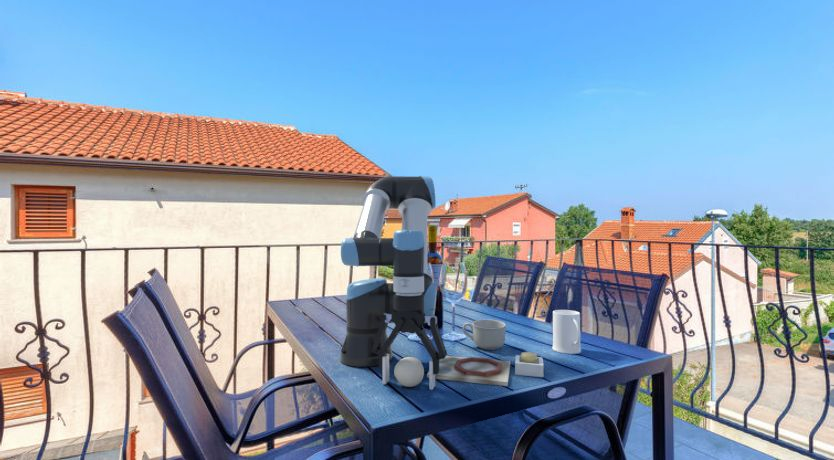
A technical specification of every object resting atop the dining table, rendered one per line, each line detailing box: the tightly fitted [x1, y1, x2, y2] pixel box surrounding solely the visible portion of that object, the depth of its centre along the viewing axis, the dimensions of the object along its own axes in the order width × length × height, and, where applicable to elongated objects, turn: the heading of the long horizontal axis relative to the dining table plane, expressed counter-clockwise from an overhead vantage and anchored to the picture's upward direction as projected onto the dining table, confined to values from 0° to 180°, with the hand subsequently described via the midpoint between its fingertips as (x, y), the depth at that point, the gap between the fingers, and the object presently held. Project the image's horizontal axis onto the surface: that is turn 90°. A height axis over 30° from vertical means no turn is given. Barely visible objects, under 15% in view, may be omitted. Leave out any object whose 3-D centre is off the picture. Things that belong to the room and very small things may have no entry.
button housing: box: [514, 354, 544, 378], centre depth 102 cm, size 7×7×3 cm
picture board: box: [426, 355, 511, 387], centre depth 102 cm, size 20×16×2 cm
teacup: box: [461, 318, 507, 351], centre depth 125 cm, size 14×11×8 cm
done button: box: [520, 351, 538, 363], centre depth 102 cm, size 4×4×2 cm
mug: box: [552, 309, 582, 355], centre depth 120 cm, size 12×8×12 cm
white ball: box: [393, 356, 425, 388], centre depth 93 cm, size 7×7×7 cm
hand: (408, 384), depth 92 cm, fingers open, 11 cm apart
